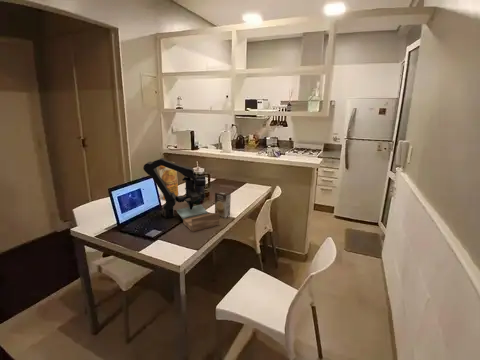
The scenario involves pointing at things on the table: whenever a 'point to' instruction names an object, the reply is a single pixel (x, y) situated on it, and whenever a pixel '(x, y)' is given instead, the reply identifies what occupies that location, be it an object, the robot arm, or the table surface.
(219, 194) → the coffee box
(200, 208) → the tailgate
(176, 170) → the robot arm
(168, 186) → the pancake mix bag
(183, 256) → the table surface
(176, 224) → the table surface
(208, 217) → the brown wooden block
